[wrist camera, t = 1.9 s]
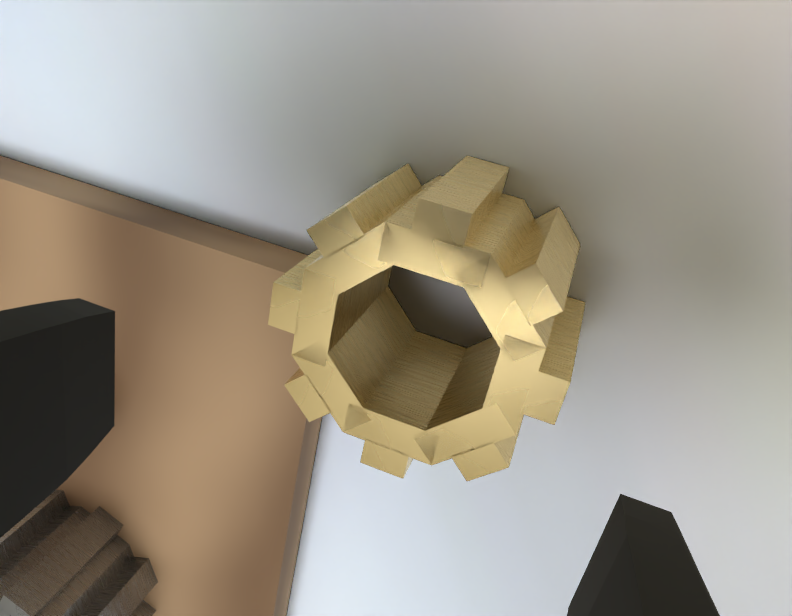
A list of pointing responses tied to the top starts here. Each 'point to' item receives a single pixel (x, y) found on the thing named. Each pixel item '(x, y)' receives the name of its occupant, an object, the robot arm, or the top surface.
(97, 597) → the gear
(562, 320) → the brass gear
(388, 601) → the top surface
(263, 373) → the gear board
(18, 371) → the robot arm
